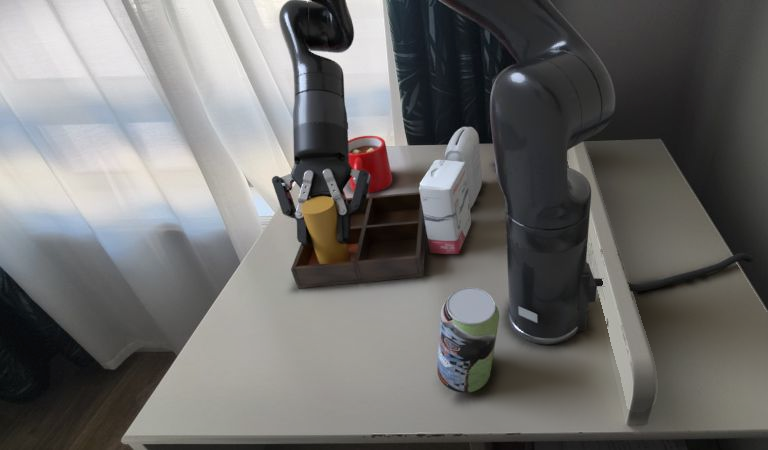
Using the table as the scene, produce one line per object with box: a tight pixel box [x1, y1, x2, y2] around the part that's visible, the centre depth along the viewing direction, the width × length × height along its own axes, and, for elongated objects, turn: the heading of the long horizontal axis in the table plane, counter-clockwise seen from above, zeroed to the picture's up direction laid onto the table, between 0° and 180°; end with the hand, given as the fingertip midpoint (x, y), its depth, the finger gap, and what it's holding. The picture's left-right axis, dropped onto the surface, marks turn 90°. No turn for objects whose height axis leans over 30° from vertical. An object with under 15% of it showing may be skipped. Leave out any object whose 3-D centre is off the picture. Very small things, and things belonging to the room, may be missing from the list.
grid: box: [290, 191, 427, 289], centre depth 76 cm, size 18×18×4 cm
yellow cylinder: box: [301, 196, 350, 264], centre depth 70 cm, size 4×4×10 cm
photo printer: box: [444, 126, 483, 210], centre depth 84 cm, size 10×4×12 cm, turn 169°
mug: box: [348, 135, 393, 195], centre depth 90 cm, size 8×12×8 cm, turn 5°
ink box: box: [418, 159, 472, 255], centre depth 75 cm, size 9×5×12 cm, turn 168°
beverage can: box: [437, 287, 500, 394], centre depth 53 cm, size 6×7×12 cm
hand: (324, 244), depth 69 cm, fingers closed on yellow cylinder, 4 cm apart
